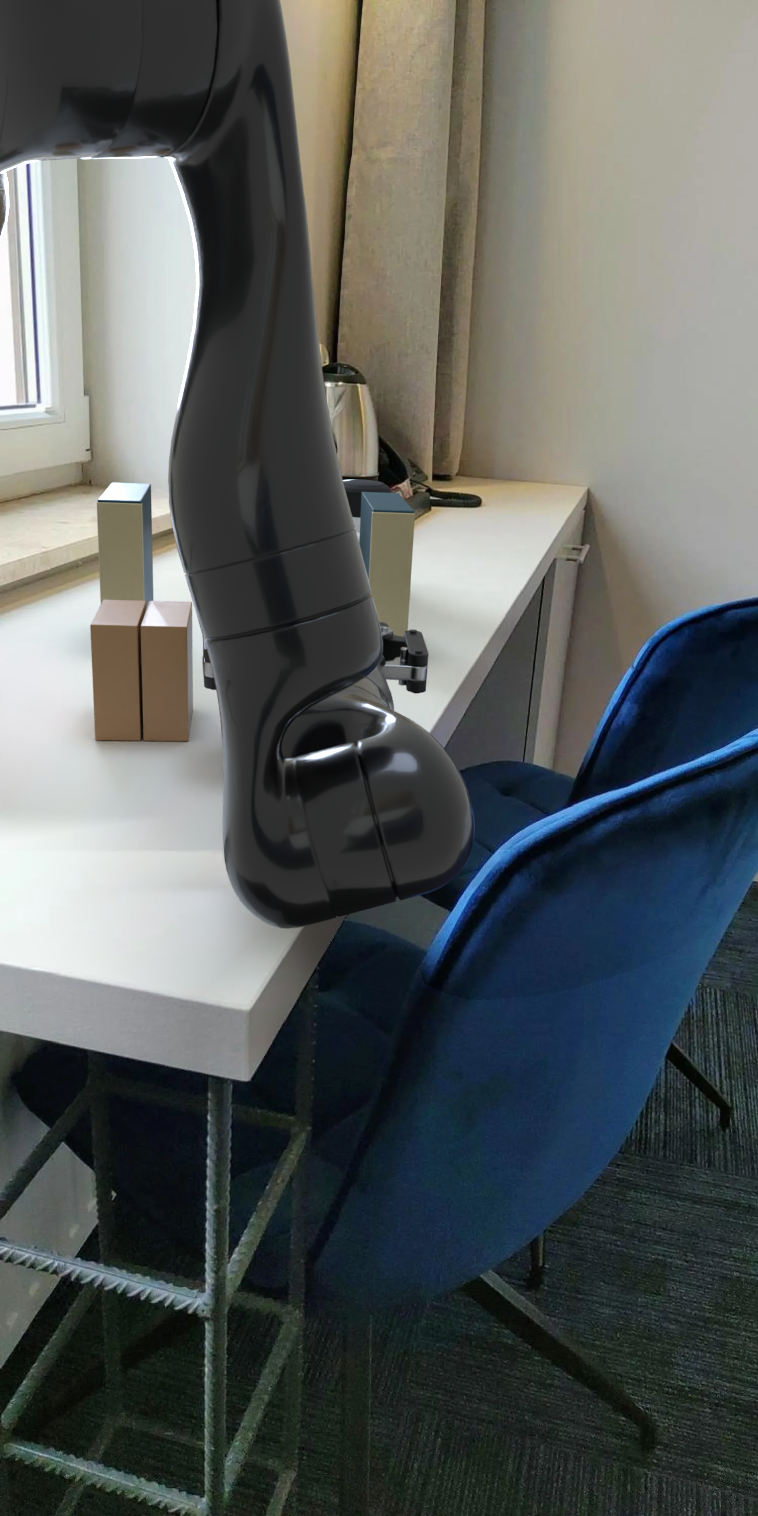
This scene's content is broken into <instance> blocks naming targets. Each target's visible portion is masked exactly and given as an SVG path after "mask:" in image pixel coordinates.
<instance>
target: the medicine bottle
mask: <svg viewBox="0 0 758 1516" xmlns="http://www.w3.org/2000/svg"><path fill="white" fill-rule="evenodd" d="M343 484H344V487H345V491H346V495H347V499H348V503H349V506H350V510H351V514H352V518H353V522H354V525H355V528H354V529H355V530H356V533H357V537H358V541H359V539H360V517H361V495H362V492H380V493H392V489H391V487H390V486H388V484H385V483H384V482H381V481H379V480H371V479H359V478H358V479H343Z"/></svg>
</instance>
